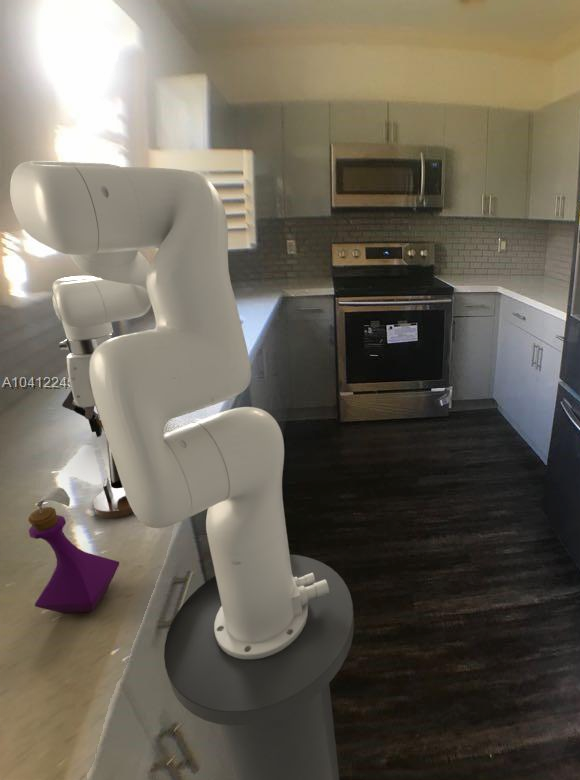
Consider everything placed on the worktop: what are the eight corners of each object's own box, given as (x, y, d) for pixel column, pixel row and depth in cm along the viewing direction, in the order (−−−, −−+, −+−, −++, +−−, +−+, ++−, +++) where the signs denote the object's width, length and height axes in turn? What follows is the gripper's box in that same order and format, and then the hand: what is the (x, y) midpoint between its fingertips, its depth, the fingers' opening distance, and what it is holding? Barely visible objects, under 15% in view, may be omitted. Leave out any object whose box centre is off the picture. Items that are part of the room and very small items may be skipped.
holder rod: (138, 484, 87) (134, 476, 85) (107, 491, 85) (102, 484, 83) (130, 417, 95) (126, 408, 92) (101, 422, 93) (96, 413, 90)
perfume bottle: (41, 624, 61) (-5, 512, 54) (74, 581, 68) (37, 477, 61) (97, 621, 61) (58, 509, 54) (125, 578, 68) (93, 475, 61)
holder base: (154, 508, 84) (148, 485, 82) (92, 524, 80) (84, 501, 78) (154, 481, 92) (149, 459, 91) (97, 495, 89) (90, 472, 87)
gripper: (33, 356, 79) (63, 449, 86) (143, 342, 86) (163, 429, 92) (42, 346, 85) (69, 432, 92) (144, 333, 92) (162, 415, 99)
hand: (116, 429), depth 92 cm, fingers closed on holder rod, 5 cm apart
